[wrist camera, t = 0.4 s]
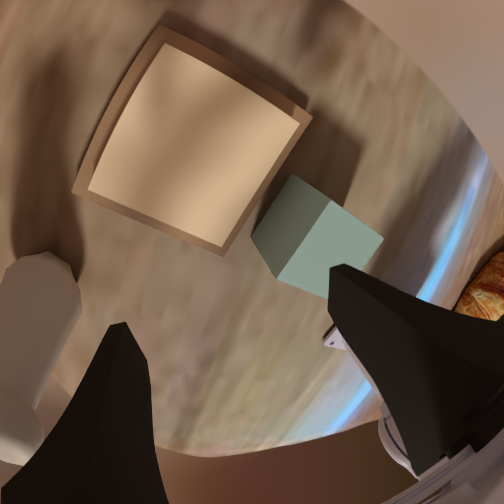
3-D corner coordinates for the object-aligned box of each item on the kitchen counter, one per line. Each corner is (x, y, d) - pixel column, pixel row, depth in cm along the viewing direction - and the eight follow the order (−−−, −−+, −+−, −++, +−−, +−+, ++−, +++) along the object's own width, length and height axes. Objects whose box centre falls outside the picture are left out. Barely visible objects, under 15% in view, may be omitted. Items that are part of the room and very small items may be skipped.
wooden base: (304, 115, 16) (323, 119, 15) (220, 247, 19) (227, 267, 17) (159, 29, 12) (158, 18, 10) (76, 186, 15) (65, 199, 13)
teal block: (342, 207, 21) (384, 238, 17) (304, 261, 22) (336, 302, 18) (291, 172, 18) (330, 199, 14) (250, 236, 20) (276, 279, 16)
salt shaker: (30, 223, 15) (-72, 385, 4) (100, 266, 18) (70, 457, 7) (8, 287, 16) (-54, 439, 5) (70, 322, 19) (47, 486, 8)
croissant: (423, 333, 42) (451, 364, 38) (422, 342, 34) (456, 380, 30) (498, 236, 36) (527, 267, 32) (512, 223, 28) (547, 260, 24)
